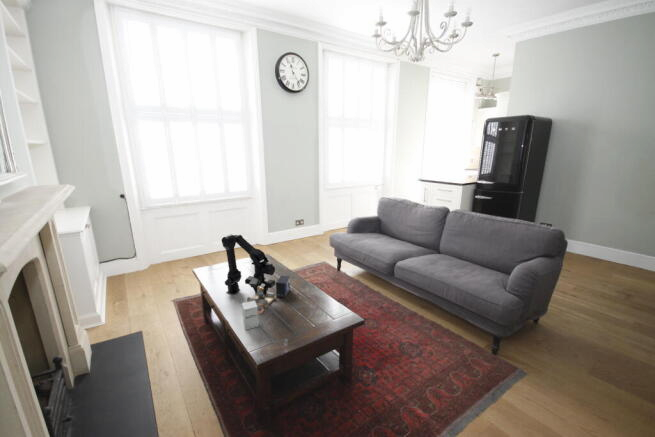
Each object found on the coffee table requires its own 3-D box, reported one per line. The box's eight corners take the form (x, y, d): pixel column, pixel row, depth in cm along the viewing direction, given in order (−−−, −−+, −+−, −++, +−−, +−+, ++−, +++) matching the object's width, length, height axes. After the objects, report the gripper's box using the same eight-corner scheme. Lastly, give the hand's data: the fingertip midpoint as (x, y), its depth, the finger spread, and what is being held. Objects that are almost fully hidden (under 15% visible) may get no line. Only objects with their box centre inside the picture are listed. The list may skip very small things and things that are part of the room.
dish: (247, 313, 176) (247, 308, 175) (254, 306, 184) (254, 301, 183) (259, 316, 174) (258, 310, 173) (266, 309, 181) (266, 303, 180)
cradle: (246, 303, 187) (246, 298, 186) (256, 294, 198) (256, 289, 197) (266, 307, 183) (265, 302, 182) (275, 297, 194) (275, 292, 193)
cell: (256, 299, 189) (256, 288, 186) (260, 296, 193) (260, 285, 190) (262, 301, 187) (262, 289, 185) (266, 297, 191) (266, 286, 189)
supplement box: (245, 330, 161) (243, 309, 158) (243, 322, 168) (241, 302, 165) (259, 327, 164) (257, 306, 161) (256, 319, 171) (255, 300, 167)
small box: (285, 297, 194) (284, 283, 191) (276, 296, 195) (275, 282, 192) (290, 290, 204) (290, 275, 201) (281, 289, 205) (280, 275, 202)
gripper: (238, 274, 181) (240, 297, 185) (265, 279, 175) (267, 303, 179) (249, 267, 191) (250, 289, 195) (275, 271, 185) (276, 294, 189)
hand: (260, 294), depth 189 cm, fingers open, 6 cm apart
